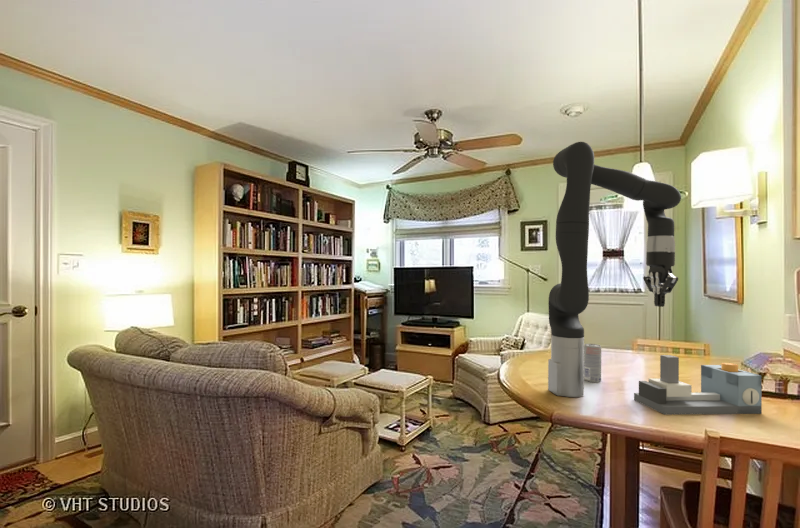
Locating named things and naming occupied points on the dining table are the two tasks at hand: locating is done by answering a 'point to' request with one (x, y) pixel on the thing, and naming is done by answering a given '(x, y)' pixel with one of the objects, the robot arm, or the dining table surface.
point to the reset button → (729, 367)
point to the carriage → (671, 378)
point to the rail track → (709, 394)
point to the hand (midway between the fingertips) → (659, 306)
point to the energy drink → (592, 362)
